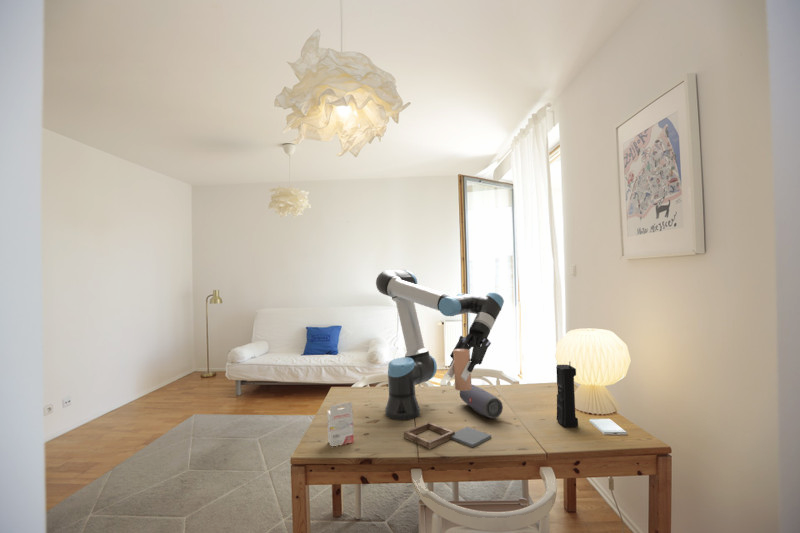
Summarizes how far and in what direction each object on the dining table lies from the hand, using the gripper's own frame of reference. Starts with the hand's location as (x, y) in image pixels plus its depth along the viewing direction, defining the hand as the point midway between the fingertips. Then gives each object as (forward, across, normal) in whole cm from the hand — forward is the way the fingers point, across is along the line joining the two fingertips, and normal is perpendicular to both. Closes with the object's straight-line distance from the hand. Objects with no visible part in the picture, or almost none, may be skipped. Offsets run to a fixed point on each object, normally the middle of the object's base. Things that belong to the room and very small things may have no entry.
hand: (456, 376), depth 135 cm
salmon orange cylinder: (+1, 0, -6) cm, 6 cm away
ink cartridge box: (+38, +30, +6) cm, 49 cm away
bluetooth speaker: (-4, +13, -37) cm, 39 cm away
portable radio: (-13, -19, -47) cm, 52 cm away
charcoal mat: (+13, 0, -20) cm, 24 cm away
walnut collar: (+20, +10, -12) cm, 26 cm away
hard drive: (-17, -31, -53) cm, 64 cm away
